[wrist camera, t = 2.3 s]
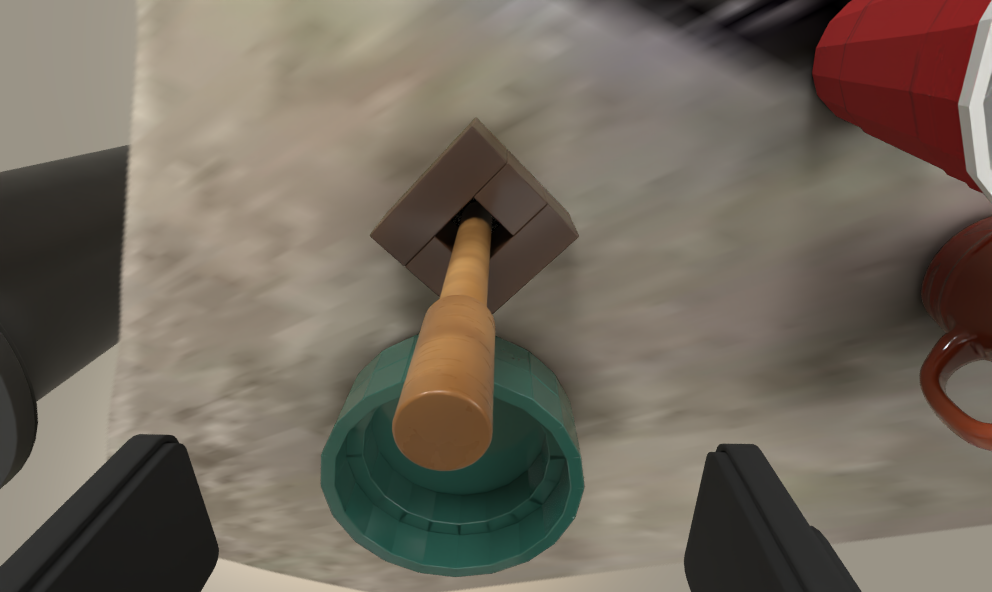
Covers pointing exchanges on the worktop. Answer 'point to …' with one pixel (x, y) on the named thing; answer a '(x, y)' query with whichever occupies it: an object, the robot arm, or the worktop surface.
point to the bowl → (456, 473)
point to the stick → (453, 361)
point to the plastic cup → (915, 79)
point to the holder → (501, 191)
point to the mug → (959, 323)
